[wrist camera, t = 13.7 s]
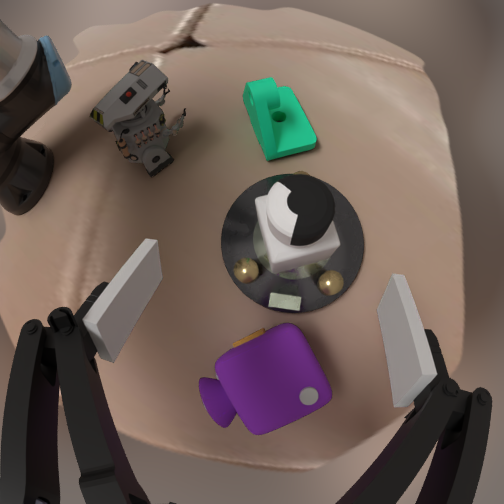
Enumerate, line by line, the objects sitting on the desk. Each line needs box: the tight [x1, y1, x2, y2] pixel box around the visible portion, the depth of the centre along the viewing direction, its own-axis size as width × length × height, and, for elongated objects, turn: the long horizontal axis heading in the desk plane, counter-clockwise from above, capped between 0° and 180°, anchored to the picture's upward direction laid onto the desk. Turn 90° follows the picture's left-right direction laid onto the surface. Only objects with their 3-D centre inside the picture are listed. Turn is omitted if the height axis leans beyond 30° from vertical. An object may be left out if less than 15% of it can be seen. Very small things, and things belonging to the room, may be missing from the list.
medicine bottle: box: [255, 174, 340, 273], centre depth 30 cm, size 7×7×12 cm
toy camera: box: [199, 323, 332, 435], centre depth 29 cm, size 11×14×10 cm
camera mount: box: [243, 77, 317, 161], centre depth 37 cm, size 12×8×10 cm, turn 16°
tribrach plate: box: [221, 171, 364, 313], centre depth 36 cm, size 18×18×4 cm
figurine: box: [90, 60, 186, 177], centre depth 35 cm, size 9×12×15 cm
